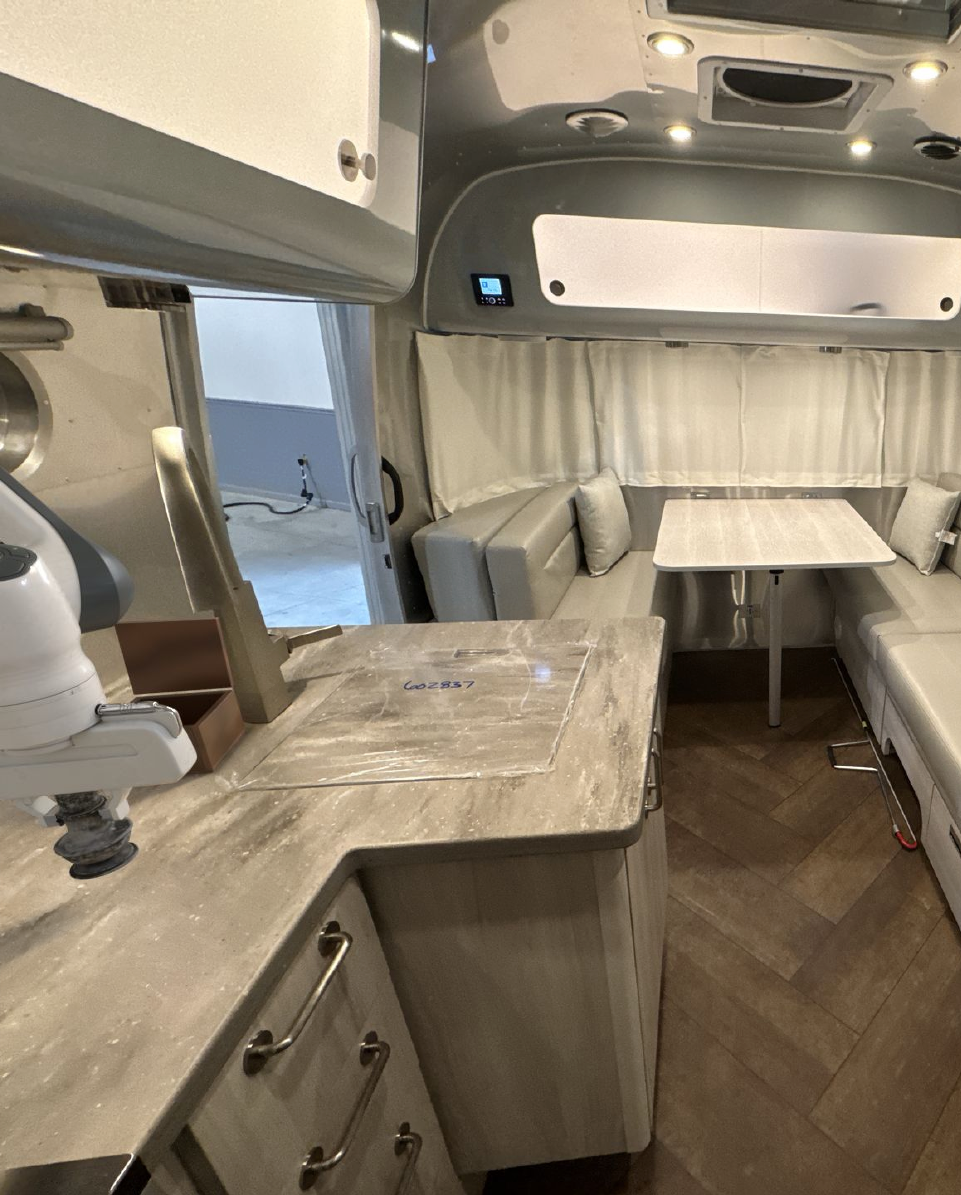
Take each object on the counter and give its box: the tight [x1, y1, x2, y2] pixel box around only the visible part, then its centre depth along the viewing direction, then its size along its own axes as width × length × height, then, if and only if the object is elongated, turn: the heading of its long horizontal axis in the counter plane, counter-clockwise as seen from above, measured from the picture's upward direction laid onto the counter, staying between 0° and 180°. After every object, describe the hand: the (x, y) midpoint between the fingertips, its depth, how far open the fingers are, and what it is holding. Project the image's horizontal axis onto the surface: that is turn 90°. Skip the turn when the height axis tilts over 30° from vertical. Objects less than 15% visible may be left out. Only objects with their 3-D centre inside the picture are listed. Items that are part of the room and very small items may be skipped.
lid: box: [113, 616, 235, 696], centre depth 94 cm, size 11×12×5 cm
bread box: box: [129, 689, 247, 776], centre depth 91 cm, size 10×12×8 cm
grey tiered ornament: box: [52, 791, 139, 881], centre depth 67 cm, size 6×6×12 cm
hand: (87, 820), depth 67 cm, fingers closed on grey tiered ornament, 3 cm apart
